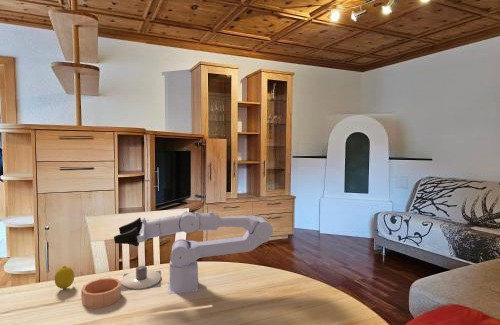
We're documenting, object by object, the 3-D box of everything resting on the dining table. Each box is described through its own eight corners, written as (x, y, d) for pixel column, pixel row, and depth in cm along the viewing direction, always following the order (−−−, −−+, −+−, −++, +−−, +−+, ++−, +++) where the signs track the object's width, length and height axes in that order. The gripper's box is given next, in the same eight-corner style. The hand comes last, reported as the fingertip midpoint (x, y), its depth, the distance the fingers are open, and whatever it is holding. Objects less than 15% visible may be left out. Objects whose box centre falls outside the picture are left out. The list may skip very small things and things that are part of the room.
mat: (160, 272, 117) (160, 270, 117) (160, 288, 104) (160, 286, 104) (123, 275, 113) (123, 274, 113) (119, 292, 101) (119, 291, 101)
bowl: (122, 289, 103) (122, 276, 102) (118, 306, 92) (118, 292, 92) (86, 293, 100) (86, 279, 100) (78, 311, 90) (77, 296, 89)
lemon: (65, 294, 99) (64, 270, 98) (50, 292, 100) (50, 268, 99) (78, 286, 104) (77, 263, 104) (64, 284, 105) (63, 261, 105)
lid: (160, 270, 117) (160, 259, 116) (160, 286, 104) (160, 274, 104) (123, 274, 113) (123, 262, 113) (119, 291, 101) (118, 278, 100)
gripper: (160, 208, 108) (119, 216, 105) (156, 223, 94) (109, 232, 91) (163, 227, 109) (123, 235, 107) (160, 245, 95) (114, 254, 93)
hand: (117, 235), depth 99 cm, fingers open, 7 cm apart
